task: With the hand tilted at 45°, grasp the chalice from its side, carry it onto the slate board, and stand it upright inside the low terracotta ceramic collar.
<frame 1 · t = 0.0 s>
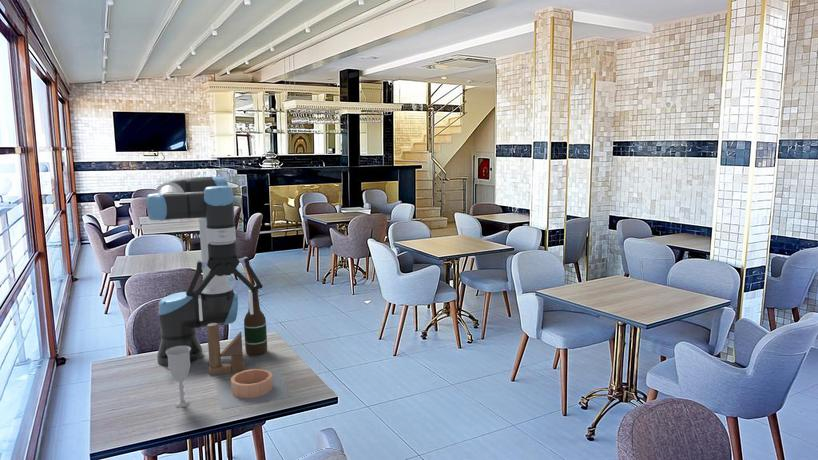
hand: (226, 316, 158), 28 cm above the table, tool pointing down, fingers open, 13 cm apart
ceramic collar: (252, 389, 172), resting on slate board
slate board: (252, 393, 172), on the table
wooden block: (226, 375, 186), on the table
chalice: (182, 409, 162), on the table
beer bottle: (256, 353, 206), on the table
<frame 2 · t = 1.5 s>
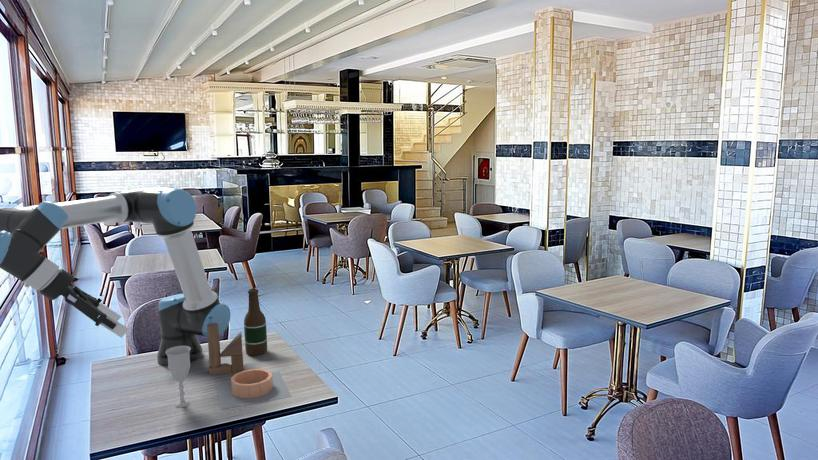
hand: (121, 326, 150), 28 cm above the table, tool tilted 45°, fingers open, 13 cm apart
nothing on the table moved.
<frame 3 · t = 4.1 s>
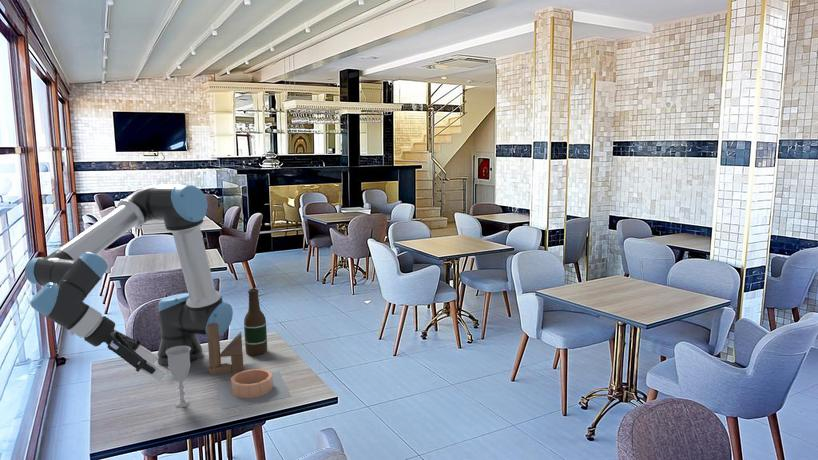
hand: (159, 368, 157), 14 cm above the table, tool tilted 45°, fingers open, 13 cm apart
nothing on the table moved.
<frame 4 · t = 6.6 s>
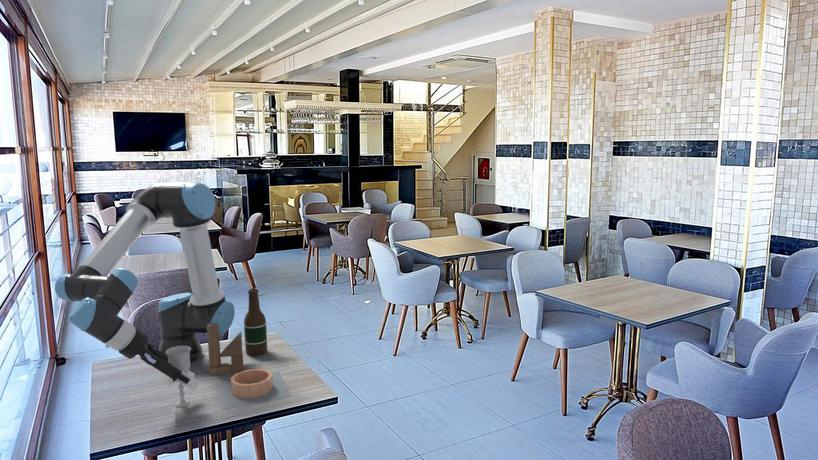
hand: (194, 382, 163), 7 cm above the table, tool tilted 45°, fingers closed on chalice, 6 cm apart
chalice: (183, 409, 162), on the table, touching gripper
everything else where it was.
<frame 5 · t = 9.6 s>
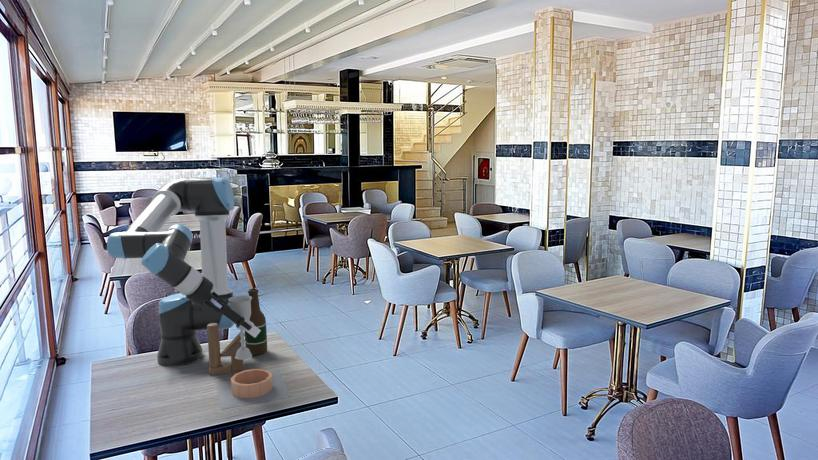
hand: (254, 330, 169), 20 cm above the table, tool tilted 45°, fingers closed on chalice, 6 cm apart
chalice: (243, 356, 168), point 13 cm above the table, touching gripper
everything else where it was.
when the fingers open (10 cm above the table, at t = 12.5 s): chalice drops 1 cm, resting on slate board.
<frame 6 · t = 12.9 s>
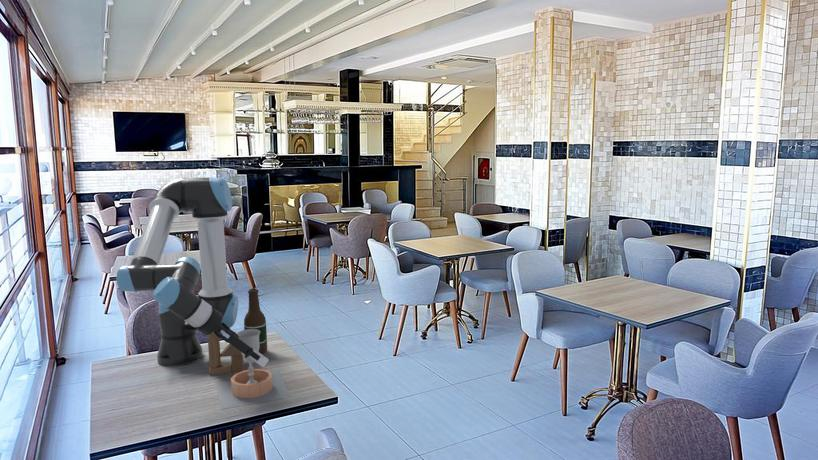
hand: (259, 357, 172), 11 cm above the table, tool tilted 45°, fingers open, 11 cm apart
chalice: (252, 389, 172), point 1 cm above the table, touching slate board
everything else where it was.
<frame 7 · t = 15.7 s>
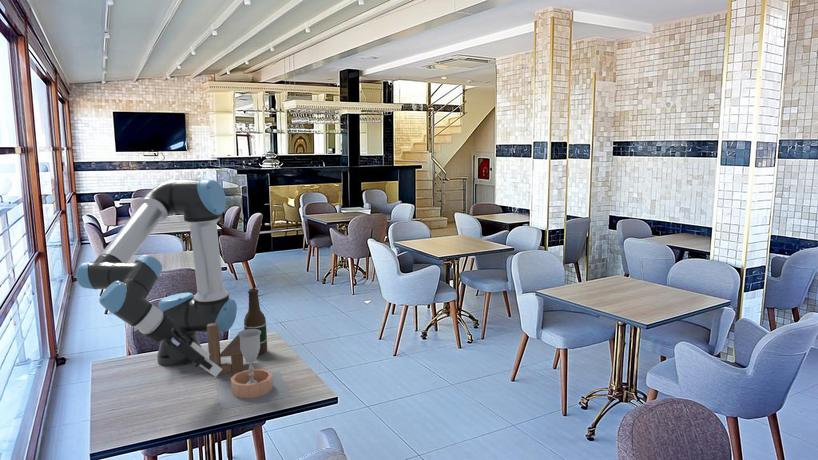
hand: (212, 364, 164), 12 cm above the table, tool tilted 45°, fingers open, 13 cm apart
nothing on the table moved.
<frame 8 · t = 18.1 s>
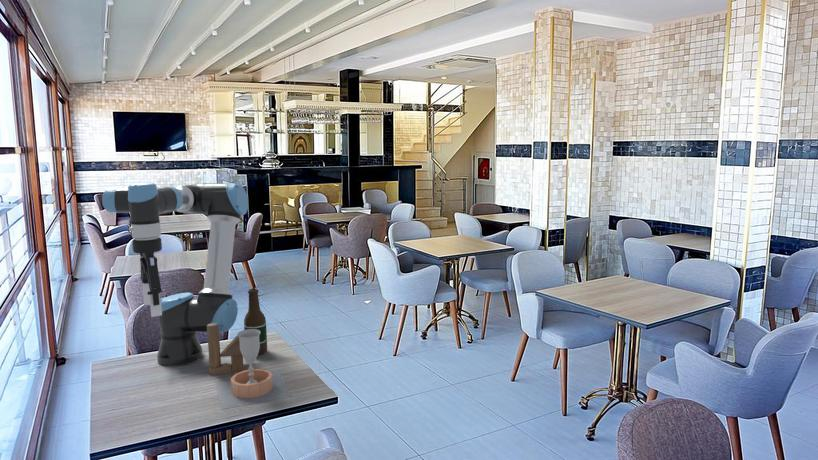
hand: (152, 310, 162), 29 cm above the table, tool pointing down, fingers open, 13 cm apart
nothing on the table moved.
at the end: chalice 0.1 cm off-centre on the ceramic collar, point 0.0 cm above the ceramic collar's base; chalice tilted 0°; the gripper is holding nothing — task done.
